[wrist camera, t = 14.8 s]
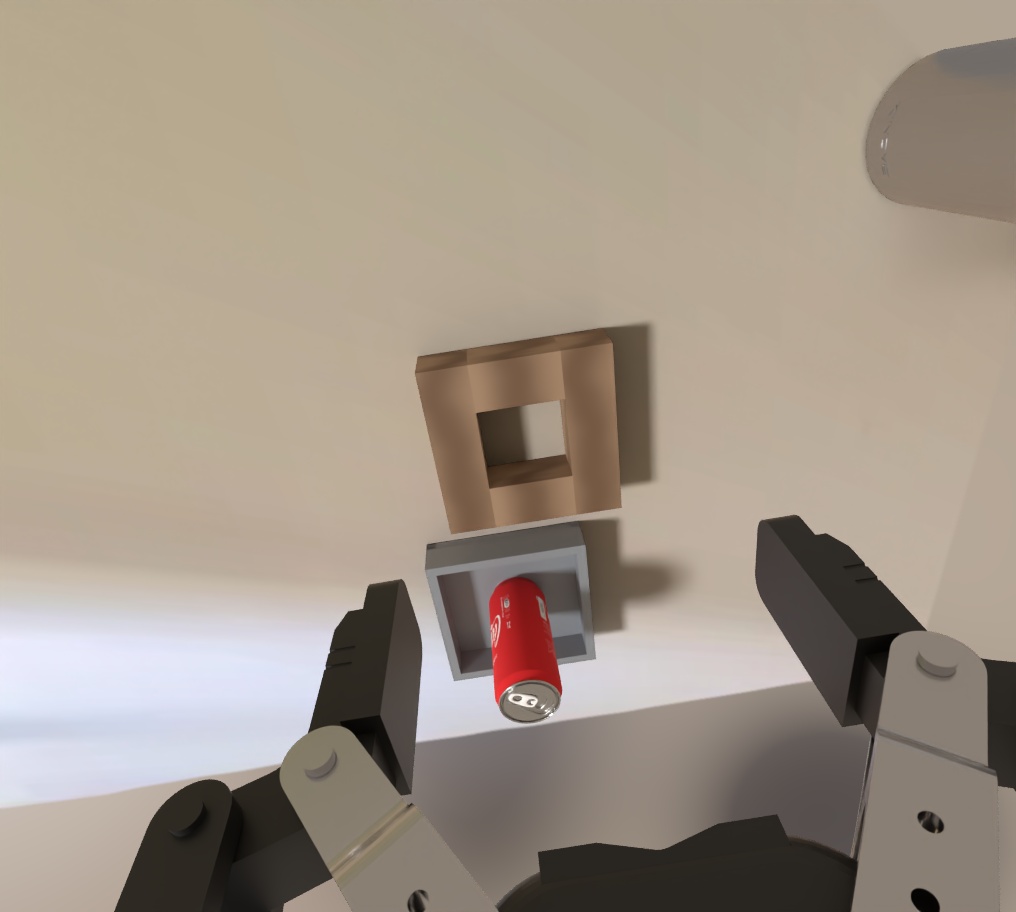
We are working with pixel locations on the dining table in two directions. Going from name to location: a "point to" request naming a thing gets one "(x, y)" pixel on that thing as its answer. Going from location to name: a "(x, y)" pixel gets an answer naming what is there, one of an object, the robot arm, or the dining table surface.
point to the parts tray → (493, 558)
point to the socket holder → (517, 382)
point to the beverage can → (523, 652)
